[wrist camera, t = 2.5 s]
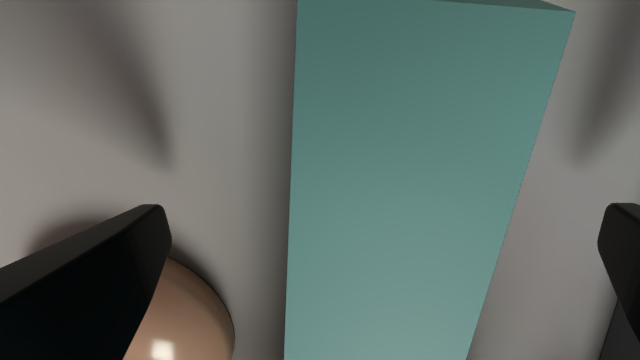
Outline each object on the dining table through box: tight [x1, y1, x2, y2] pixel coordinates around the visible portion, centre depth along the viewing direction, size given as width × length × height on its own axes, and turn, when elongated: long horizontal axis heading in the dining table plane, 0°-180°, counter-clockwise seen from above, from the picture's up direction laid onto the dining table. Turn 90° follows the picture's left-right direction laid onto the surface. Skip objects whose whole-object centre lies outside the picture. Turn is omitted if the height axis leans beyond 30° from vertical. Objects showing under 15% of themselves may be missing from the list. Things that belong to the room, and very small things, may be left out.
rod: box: [284, 0, 576, 360], centre depth 9 cm, size 3×12×4 cm, turn 176°
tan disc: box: [123, 257, 235, 360], centre depth 13 cm, size 6×6×1 cm
